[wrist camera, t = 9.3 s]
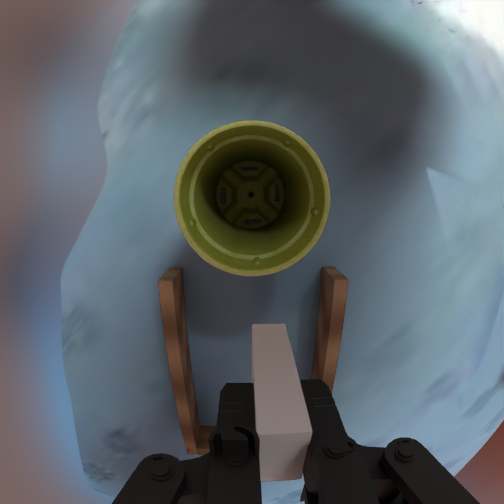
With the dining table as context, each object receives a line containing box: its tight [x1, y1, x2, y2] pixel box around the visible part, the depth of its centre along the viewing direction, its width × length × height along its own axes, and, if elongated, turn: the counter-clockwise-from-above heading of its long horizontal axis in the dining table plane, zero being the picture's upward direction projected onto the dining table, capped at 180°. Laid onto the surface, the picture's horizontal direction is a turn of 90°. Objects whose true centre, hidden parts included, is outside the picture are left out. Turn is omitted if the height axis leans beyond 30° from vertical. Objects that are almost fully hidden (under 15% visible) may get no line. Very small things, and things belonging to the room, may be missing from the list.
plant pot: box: [174, 120, 330, 276], centre depth 21 cm, size 9×9×9 cm
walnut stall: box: [158, 267, 348, 455], centre depth 27 cm, size 22×15×4 cm
